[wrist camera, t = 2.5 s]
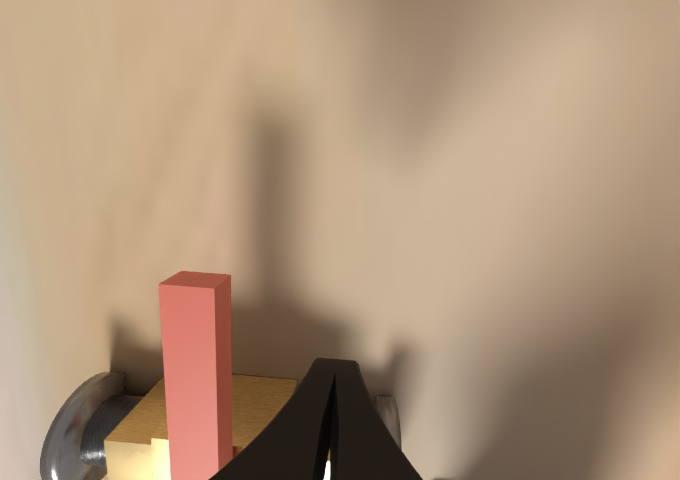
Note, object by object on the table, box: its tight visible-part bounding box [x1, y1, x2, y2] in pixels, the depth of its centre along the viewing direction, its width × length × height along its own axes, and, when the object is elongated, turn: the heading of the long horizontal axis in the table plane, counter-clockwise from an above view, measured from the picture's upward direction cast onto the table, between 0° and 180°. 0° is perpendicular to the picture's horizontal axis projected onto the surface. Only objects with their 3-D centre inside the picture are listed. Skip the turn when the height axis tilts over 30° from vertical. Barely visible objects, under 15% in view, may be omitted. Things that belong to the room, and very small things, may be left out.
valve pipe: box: [40, 372, 402, 480], centre depth 18 cm, size 18×6×6 cm, turn 86°
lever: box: [159, 271, 233, 480], centre depth 13 cm, size 13×3×2 cm, turn 176°
